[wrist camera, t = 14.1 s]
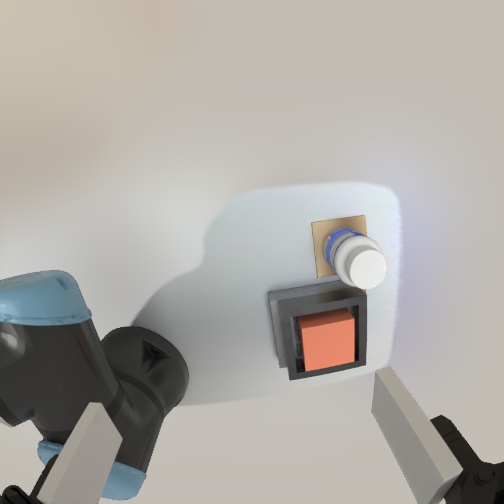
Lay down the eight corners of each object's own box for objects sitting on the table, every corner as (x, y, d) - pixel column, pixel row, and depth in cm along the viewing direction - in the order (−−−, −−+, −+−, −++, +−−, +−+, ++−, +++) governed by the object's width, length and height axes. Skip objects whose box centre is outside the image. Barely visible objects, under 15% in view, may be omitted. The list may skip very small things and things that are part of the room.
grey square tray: (278, 356, 40) (281, 381, 34) (268, 292, 37) (271, 312, 32) (359, 340, 39) (372, 363, 33) (357, 276, 37) (374, 293, 31)
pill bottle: (369, 249, 36) (403, 272, 26) (337, 276, 36) (363, 307, 27) (345, 216, 35) (376, 230, 25) (312, 244, 35) (332, 268, 26)
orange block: (300, 349, 37) (305, 371, 32) (295, 309, 36) (301, 328, 31) (343, 341, 37) (354, 361, 32) (342, 301, 35) (354, 318, 30)
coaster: (317, 276, 37) (318, 277, 36) (311, 222, 35) (312, 223, 35) (367, 267, 37) (368, 268, 36) (364, 215, 35) (365, 215, 35)
